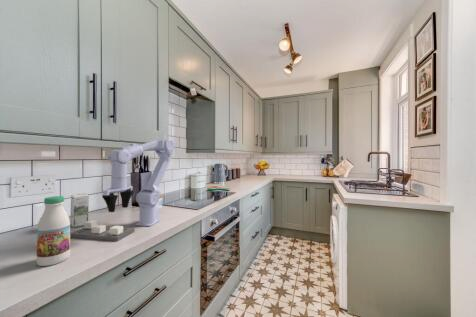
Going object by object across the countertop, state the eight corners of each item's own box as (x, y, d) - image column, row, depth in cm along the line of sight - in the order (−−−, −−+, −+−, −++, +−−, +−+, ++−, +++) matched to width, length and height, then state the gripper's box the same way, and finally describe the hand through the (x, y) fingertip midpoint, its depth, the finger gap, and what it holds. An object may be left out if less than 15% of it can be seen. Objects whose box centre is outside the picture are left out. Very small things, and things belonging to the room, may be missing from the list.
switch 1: (89, 225, 89) (90, 220, 89) (97, 226, 88) (97, 220, 88) (83, 228, 86) (83, 222, 86) (91, 228, 85) (91, 222, 85)
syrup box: (85, 222, 99) (85, 193, 99) (88, 225, 95) (88, 194, 95) (70, 225, 94) (70, 194, 94) (73, 228, 91) (73, 196, 90)
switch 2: (98, 230, 83) (98, 224, 83) (105, 230, 83) (105, 224, 83) (91, 233, 80) (91, 226, 80) (99, 233, 80) (99, 227, 80)
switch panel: (90, 228, 90) (90, 225, 90) (134, 231, 87) (134, 228, 87) (68, 237, 80) (68, 233, 80) (117, 241, 77) (117, 237, 77)
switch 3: (115, 231, 82) (115, 225, 82) (123, 232, 82) (123, 226, 82) (109, 234, 79) (109, 228, 79) (117, 234, 79) (117, 228, 79)
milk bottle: (36, 260, 63) (37, 196, 63) (68, 252, 68) (69, 193, 68) (36, 270, 57) (36, 200, 57) (71, 260, 63) (71, 197, 62)
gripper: (123, 176, 92) (122, 205, 92) (96, 178, 78) (95, 213, 78) (136, 176, 91) (136, 206, 91) (112, 179, 77) (111, 214, 77)
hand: (118, 209), depth 84 cm, fingers open, 7 cm apart
